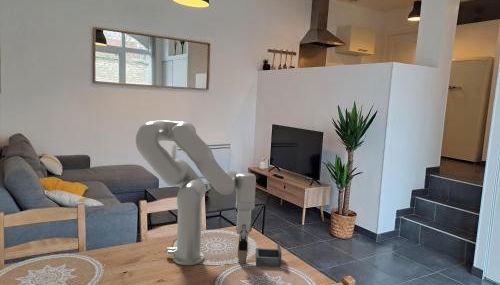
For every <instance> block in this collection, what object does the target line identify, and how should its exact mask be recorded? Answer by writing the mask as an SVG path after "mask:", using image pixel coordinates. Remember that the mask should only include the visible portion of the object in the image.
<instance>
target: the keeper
mask: <svg viewBox="0 0 500 285" xmlns="http://www.w3.org/2000/svg"><path fill="white" fill-rule="evenodd" d="M276 244H277V247H276V248H261V247H259V248H258V247H256V248H255V254H254V255H255V257H254V258H255V260H254V261H255V267H270V268H271V267H272V268H281V267H282V249H281V243H276Z"/></svg>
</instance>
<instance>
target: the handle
mask: <svg viewBox="0 0 500 285" xmlns="http://www.w3.org/2000/svg"><path fill="white" fill-rule="evenodd" d="M242 227H243V225H242ZM235 230H236V231H237V225H236V226H235ZM252 230H253V226H252V225H250V229H249V233H251V232H252ZM241 233H242V232H241ZM245 233H246V232H245ZM238 236H239V237H238V238H239V239H238V241H239V240H240V234H238ZM241 236H242V235H241ZM245 236H246V235H245ZM248 240H249V234H248V235H247V251H240V250H239V243H238V245H237V261H238V263H239V264H241V265H243V264H246V263H247V260H248V259H247V256H248V253H249V252H248V250H249V248H248V246H249V245H248V244H249V243H248Z"/></svg>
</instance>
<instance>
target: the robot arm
mask: <svg viewBox="0 0 500 285" xmlns="http://www.w3.org/2000/svg"><path fill="white" fill-rule="evenodd" d="M135 135H136V136H135V146H136V148H137V151H138V152H139V154H140V155H141V156H142V157H143V159H144V160H145V161H146V162H147V163H148V165H149V166H150V167H151V168H152V169H153V171H155V173H156V174H157V176H159V177H160V178H161V180H162V181H163V182H164V183H165V184H166V185H168V186H169V187H176V186H177V187H179V190H178V192H177V195H176V206H177V234H176V235H177V236H176V238H177V239H176V246H173V247H171V246H169V247H168V246H166V250H165V252H166V253H167V255H172V261H173V262H174V263H176V264H178V265H180V266H182V265H183V266H194V265H198V264H201V263H202V262H203V261H204V259H205V254H204V253H203V252H202V251H201V246H202V217H203V215H202V214H203V212H202V211H203V210H202V201H203V198H204V196H205V194H206V192H207V186H206V184H205V182H204V180H202V178H201V177H200V176H199V175H198V174H197V173H196V171H195V170H194V169H193V167H191V165H189V163H188V162H186V161H184V160H182V159H181V158H180V159H179V158H176V159H174V158H173V157H172V156H171V154H170V153H169V152H168V150H167V149H165V148H164V147H163V146H162V145H161V144H160V142H162V141H164V142H165V141H166V142H174V143H175V145H176V146H177V147H178V148H179V149H180V150H182V152H183V153H184V154H185V155H186V156H187V157H188V158H189V159H190V160H191V161H192V163H194V165H195V166H196V169H197V170H199V172H200V174H201V175H202V177H203V178H204V179H205V180H206V181H207V182H208V183H209V185H210V186H212V188H214V190H215V191H216V192H218V193H219V194H221V195H226V196H227V195H230V194H232V193H233V192H234V191H235V190H236V192H235V193H236V194H235V209H237V218H236V226H237V230H236V234H237V235H239V234H240V240H239V239H238V244H239V250H240V251H247V235H248V236H249V234H250V232H249V229H250V226H251V220H252V219H251V218H252V211H253V210H255V201H256V188H257V187H256V186H257V184H256V183H257V181H256V180H257V177H256V175H255V174H254V173H250V172H236V171H233V170H224V169H223V168H222V167H221V165H220V164H219V163H218V162H217V160H216V158H215V156H214V153H213V150H212V149H211V147H210V146H208V144H207V143H206V142H205V141H204V140H203V139H202V138H201V137H200V136H199V135H198V133H197V130H196V127H195V126H194V125H193V124H192V123H190V122H188V121H174V120H173V121H171V120H162V119H161V120H160V119H159V120H157V119H156V120H152V121H147V122H145V123H143V124H142V125H140V127H139V128H138V130H137V133H136V134H135ZM242 225H243V227H242ZM241 232H242V233H241ZM245 232H246V233H245ZM241 235H242V236H241ZM245 235H246V236H245Z"/></svg>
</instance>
